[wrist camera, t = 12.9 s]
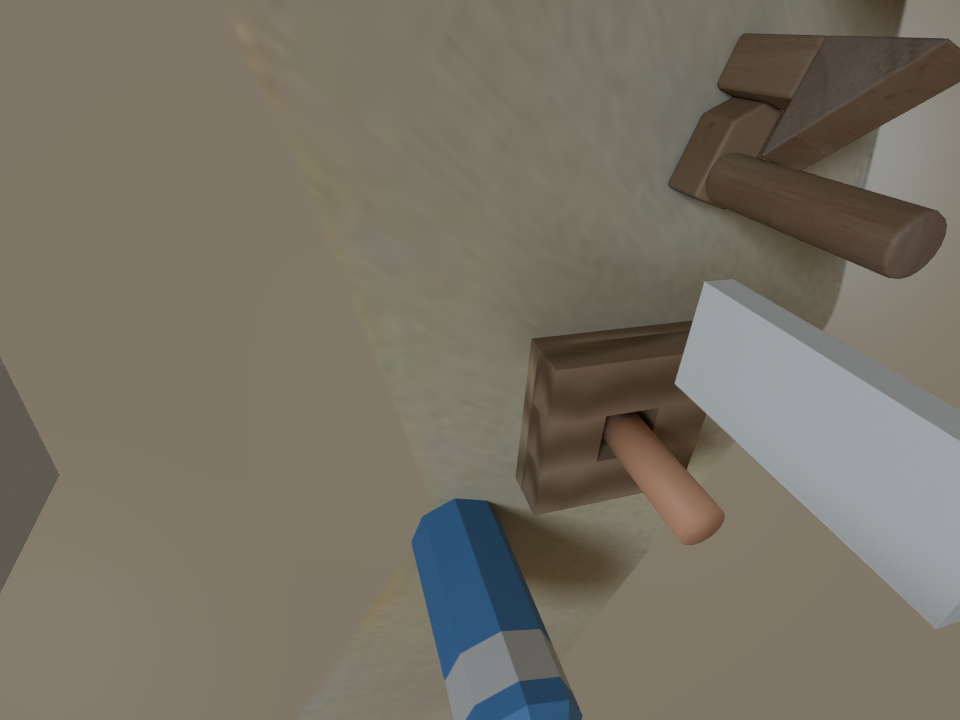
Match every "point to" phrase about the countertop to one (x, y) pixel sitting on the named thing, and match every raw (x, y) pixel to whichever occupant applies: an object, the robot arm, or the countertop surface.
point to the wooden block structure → (818, 141)
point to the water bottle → (487, 620)
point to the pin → (662, 479)
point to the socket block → (599, 411)
